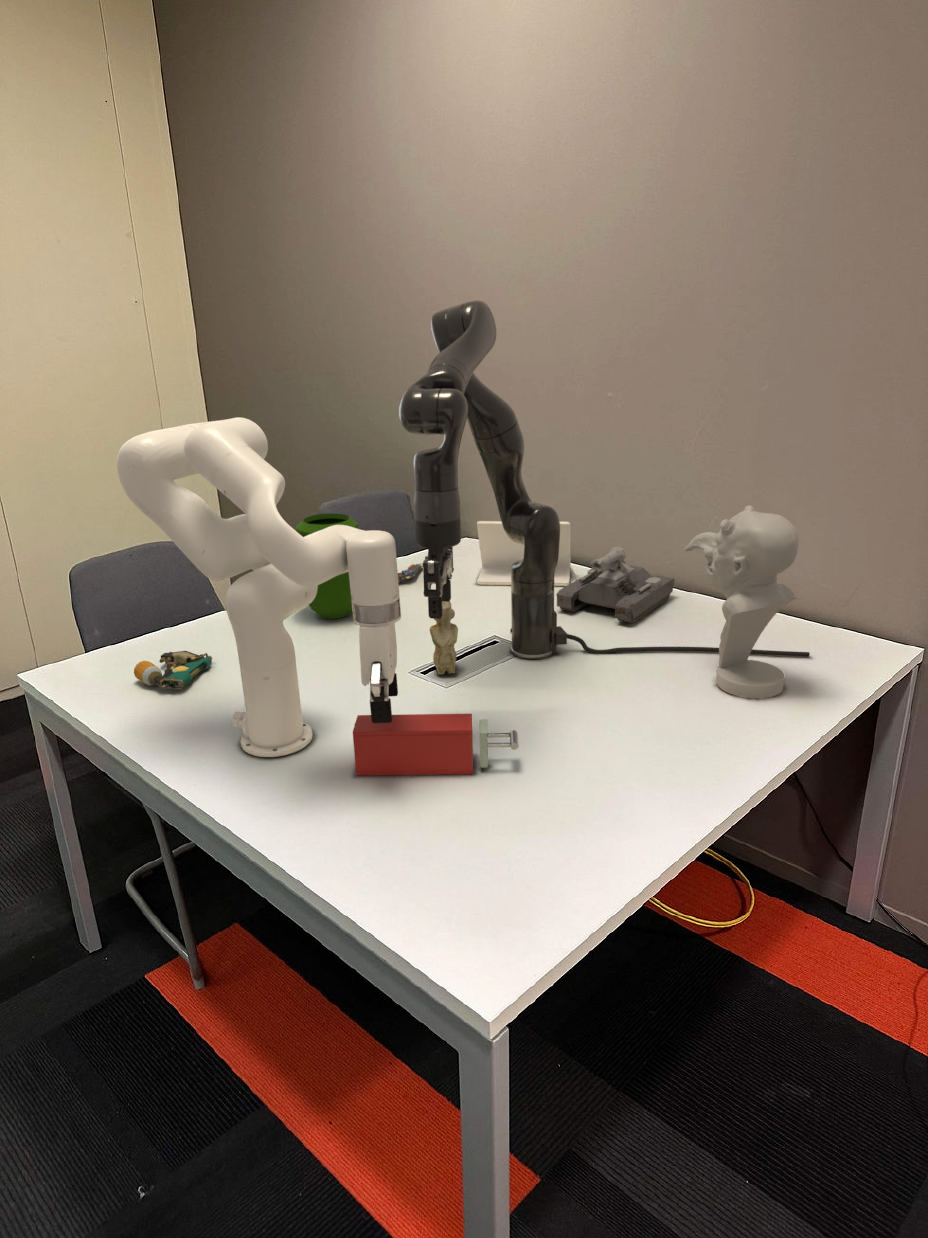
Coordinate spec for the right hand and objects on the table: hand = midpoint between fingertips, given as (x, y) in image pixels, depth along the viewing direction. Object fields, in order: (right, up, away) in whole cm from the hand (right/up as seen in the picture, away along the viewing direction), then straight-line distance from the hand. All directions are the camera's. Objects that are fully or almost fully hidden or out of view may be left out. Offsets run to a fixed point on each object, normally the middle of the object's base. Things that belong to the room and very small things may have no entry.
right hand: (440, 609), depth 144 cm
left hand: (-9, -16, -5) cm, 19 cm away
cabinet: (-4, -26, -1) cm, 27 cm away
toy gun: (-14, +10, +96) cm, 98 cm away
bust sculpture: (+57, -14, +27) cm, 65 cm away
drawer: (+1, -25, -1) cm, 25 cm away
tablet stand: (+21, +10, +95) cm, 98 cm away
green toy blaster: (-57, -14, +37) cm, 69 cm away
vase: (-28, -1, +70) cm, 75 cm away
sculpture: (0, -13, +35) cm, 38 cm away
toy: (+42, +2, +70) cm, 82 cm away
